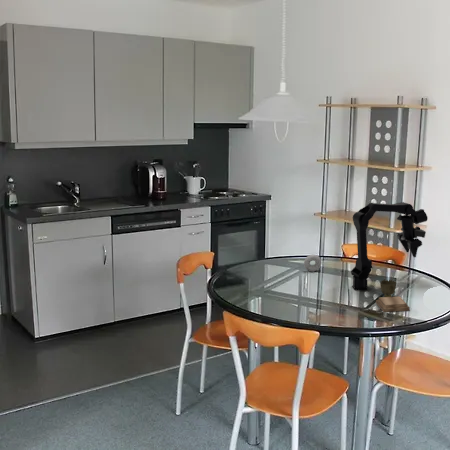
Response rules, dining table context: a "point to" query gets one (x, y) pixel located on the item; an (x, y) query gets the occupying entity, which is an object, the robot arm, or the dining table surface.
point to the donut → (309, 259)
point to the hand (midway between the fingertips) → (411, 254)
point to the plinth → (392, 304)
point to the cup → (388, 287)
